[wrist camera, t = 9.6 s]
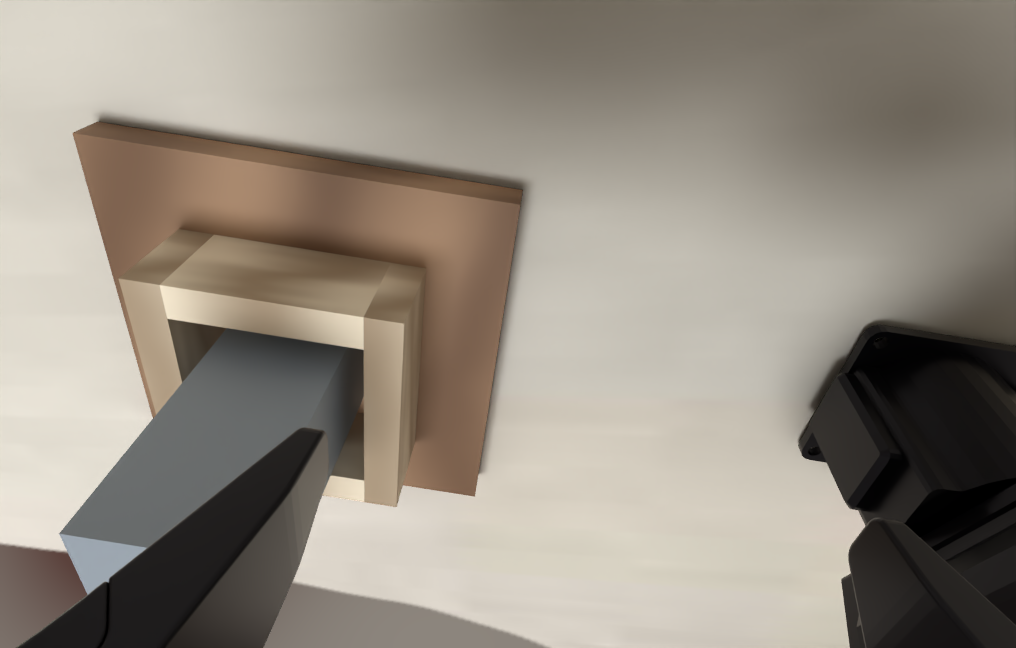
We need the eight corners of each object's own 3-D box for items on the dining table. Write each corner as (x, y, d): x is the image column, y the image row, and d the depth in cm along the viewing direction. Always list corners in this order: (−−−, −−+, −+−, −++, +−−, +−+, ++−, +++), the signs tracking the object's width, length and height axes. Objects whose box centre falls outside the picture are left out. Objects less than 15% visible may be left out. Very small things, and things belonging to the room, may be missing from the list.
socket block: (522, 189, 20) (512, 255, 16) (478, 475, 28) (464, 562, 24) (97, 121, 20) (-12, 171, 16) (175, 428, 28) (115, 508, 24)
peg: (364, 313, 22) (238, 562, 13) (363, 396, 24) (256, 651, 16) (253, 295, 22) (59, 533, 13) (263, 379, 24) (103, 627, 16)
